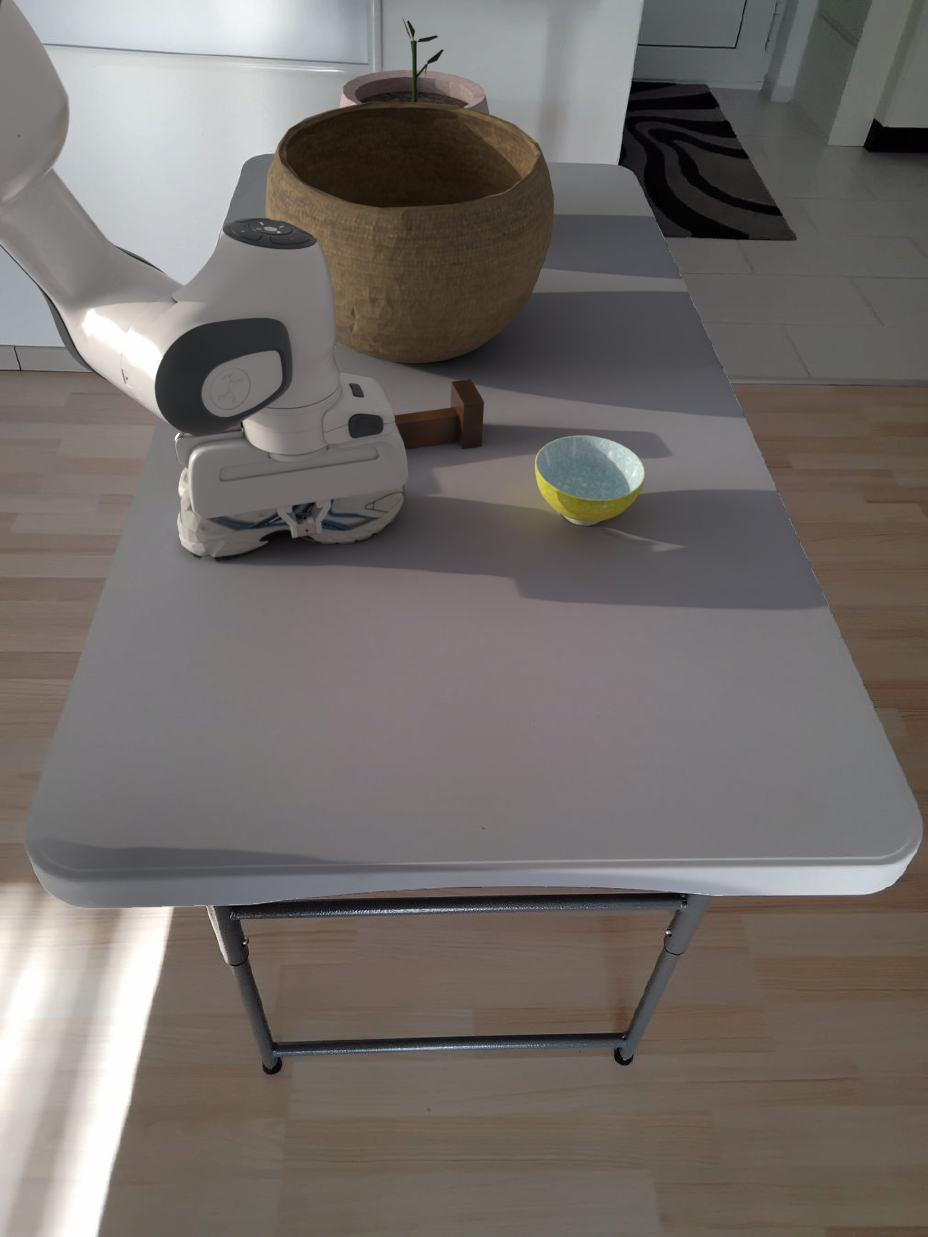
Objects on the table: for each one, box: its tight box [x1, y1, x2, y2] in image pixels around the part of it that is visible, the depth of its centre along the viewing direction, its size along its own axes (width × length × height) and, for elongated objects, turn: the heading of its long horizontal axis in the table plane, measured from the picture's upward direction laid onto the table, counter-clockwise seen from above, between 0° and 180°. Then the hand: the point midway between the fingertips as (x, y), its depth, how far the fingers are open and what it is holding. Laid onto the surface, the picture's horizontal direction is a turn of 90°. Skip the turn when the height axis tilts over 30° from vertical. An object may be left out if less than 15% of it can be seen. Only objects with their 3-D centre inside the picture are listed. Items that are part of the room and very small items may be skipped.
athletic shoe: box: [176, 467, 406, 561], centre depth 93 cm, size 10×23×12 cm, turn 115°
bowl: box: [534, 435, 647, 527], centre depth 97 cm, size 11×12×6 cm
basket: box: [265, 101, 555, 364], centre depth 117 cm, size 35×35×25 cm
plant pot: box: [338, 18, 490, 115], centre depth 138 cm, size 24×24×30 cm
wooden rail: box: [394, 378, 485, 450], centre depth 103 cm, size 30×5×6 cm, turn 107°
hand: (306, 532), depth 90 cm, fingers closed, pressing on athletic shoe
